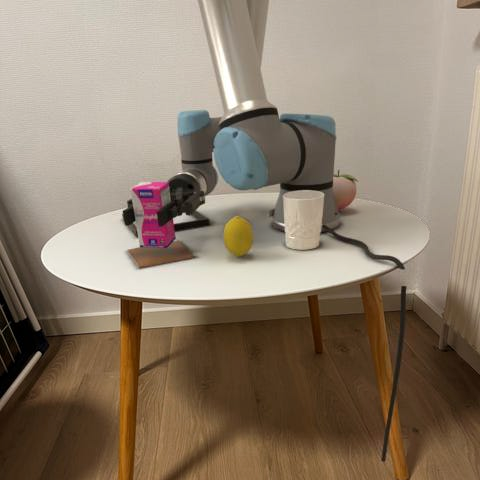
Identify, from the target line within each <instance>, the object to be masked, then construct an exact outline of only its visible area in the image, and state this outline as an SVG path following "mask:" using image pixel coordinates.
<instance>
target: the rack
mask: <svg viewBox="0 0 480 480" xmlns="http://www.w3.org/2000/svg"><path fill="white" fill-rule="evenodd" d="M191 216H192V217H193V218H195V219H196V220H194V219H193V220H189V221H184V222H177V223H174V230H175V232H177V231H183V230H189V229H194V228H200V227H207V226H210V218H209V217H207V216H205V215H204V214H202V213H201V212H199V211H197V210H196V211H195V212H194V213H193V214H192V215H191ZM121 218H122V220H123V221H124V217H123V213H122V214H121ZM127 227H128V229H130V231H131V232H132V233H133V235H134V236H135V237H136V238H138V232H137V227H136V224H134V223H132V224H130V225H129V226H127Z"/></svg>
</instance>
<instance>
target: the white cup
mask: <svg viewBox="0 0 480 480" xmlns="http://www.w3.org/2000/svg"><path fill="white" fill-rule="evenodd" d="M323 204H324V193H322V192H319V191H312V190H299V191H291V192H287V193H285V194H283V210H284V227H285V246H286V247H287V248H288V249H292V250H298V251H299V250H300V251H304V250H306V251H307V250H312V249H315V248H318V247H319V246H320V239H321V233H322V232H321V226H322V217H323Z"/></svg>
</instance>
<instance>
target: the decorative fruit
mask: <svg viewBox="0 0 480 480" xmlns="http://www.w3.org/2000/svg"><path fill="white" fill-rule="evenodd" d="M356 182H357V183H359V181H358V179H357V178H356V177H355V176H353V175H351V174H340V169H338V170H337V174H336V173H334V176H333V193H334V197H335V200H336V204H337V208H338V212H339V211H342V210H345V208H347V207H349V206H350V205H351V204H352V203H353V202H354V200H355V199H356V196H357V184H356Z"/></svg>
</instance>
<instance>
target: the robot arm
mask: <svg viewBox="0 0 480 480" xmlns="http://www.w3.org/2000/svg"><path fill="white" fill-rule="evenodd" d="M197 3H198V7H199V12H200V15H201V21H202V25H203V29H204V33H205V38H206V41H207V46H208V50H209V54H210V58H211V63H212V68H213V70H214V72H213V73H214V76H215V80H216V83H217V84H216V85H217V88H218V92H219V96H220V101H221V106H222V110H223V115H222V116H220V117H217V116H216V117H211V116H210V112H209V111H208V110H206V109H196V110H195V109H194V110H183V111H180V112H179V113H178V114H177V117H176V118H177V119H176V120H177V137H178V142H179V143H178V144H179V151H180V161H181V162H180V163H181V164H180V165H181V172H179V173H176V174H175V175H174V176H172V177H170V178H169V179H168V180H167V181H166V182H169V188H170V197H171V203H169V204H167V205H166V206H164V207H163V208H161V209H160V210H158V211H157V218H158V225H159V226H160V227H163V226H164V225H165V224H166V223H168V222H169V221H170V220H172V219H173V220H174V219H175V218H177V217H181V216H183V214H185V215H186V216H192V214H193V213H194V212H195V211H197V210H198V209H199V208H200V207H201V206H202V205H205V204H206V196H208V195H210V194H211V193H212V192H213V191H214V190H215V188H216V187H217V185H218V182H219V175H220V176H221V178H222V179H223V180H224V182H225V183H226V184H228V185H229V186H230V187H231V188H233V189H234V190H238V191H250V190H252V191H256V190H257V191H258V190H259V189H262V188H266V187H271V186H275V185H279V194H278V197H277V200H276V202H275V206H274V208H272V209H270V210H269V211H268V218H272V219H271V220H272V227H273V228H274V229H276V230H278V231H281V232H285V227H284V210H283V194H285V193H287V192H291V191H299V190H312V191H319V192H322V193H324V204H323V217H322V226H321V232H320V233H324V232H328V233H329V234H331V236H332V237H334V238H336V239H338V240H340V241H343V242H347V243H351V244H355V245H357V246H360V247H361V248H363V250H364V253H365V255H366V256H367V257H369V258H370V259H373V260H378V261H390V262H392V263H394V264H395V265H396V266H397V267H398V269H399V270H406V267H405V266H404V264H403V263H402V262H401V260H400V259H399V258H397V257H395V256H394V255H388V254H387V255H386V254H375V253H373V252H371V250H370V249H369V246H368V245H367V244H366V243H365V242H364V241H362V240H359V239H355V238H351V237H347V236H345V235H344V236H343V235H341V234H339V233H337V232H336V231H334V230H335V229H337V228H338V227H339V225H340V219H341V217H340V212H339V211H338V208H337V204H336V200H335V197H334V193H333V176H334V174H335V158H336V157H335V156H336V142H337V134H336V131H337V130H336V126H337V125H336V121H335V119H334V118H333V117H332V116H329V115H320V114H312V113H311V114H310V113H309V114H308V113H307V114H306V113H282V114H279V110H278V107H277V106H276V105H274V104H273V103H271V102H270V101H269V100H268V98H267V93H266V88H265V83H264V78H263V73H262V61H263V54H264V45H265V38H266V29H267V22H268V14H269V13H268V12H269V5H270V0H197ZM279 115H280V116H279ZM213 159H214V160H213ZM213 161H214V163H215V166H216V167H215V166H214V163H213ZM216 168H217V169H216ZM217 170H218V171H217ZM218 172H219V173H218ZM126 205H127V208H125V209H123V210H122V214H123V217H124V220H123V222H124V226H125V227H128V226H129V225H130V224H132V223H133V224H134V223H136V220H135V214H134V208H133V202H132V198H130V199H128V200H127V201H126ZM123 217H122V218H123ZM406 306H407V286H406V285H401V288H400V313H399V314H400V317H399V332H398V344H397V351H396V352H397V353H396V360H395V367H394V375H393V382H392V387H391V394H390V400H389V406H388V412H387V419H386V423H385V431H384V437H383V444H382V451H381V462H382V463H385V462H386V460H387V459H386V458H387V452H388V444H389V437H390V432H391V427H392V421H393V414H394V409H395V408H394V407H395V402H396V397H397V396H396V395H397V390H398V384H399V379H400V371H401V365H402V358H403V350H404V342H405V331H406V330H405V329H406V312H407V307H406Z"/></svg>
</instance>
